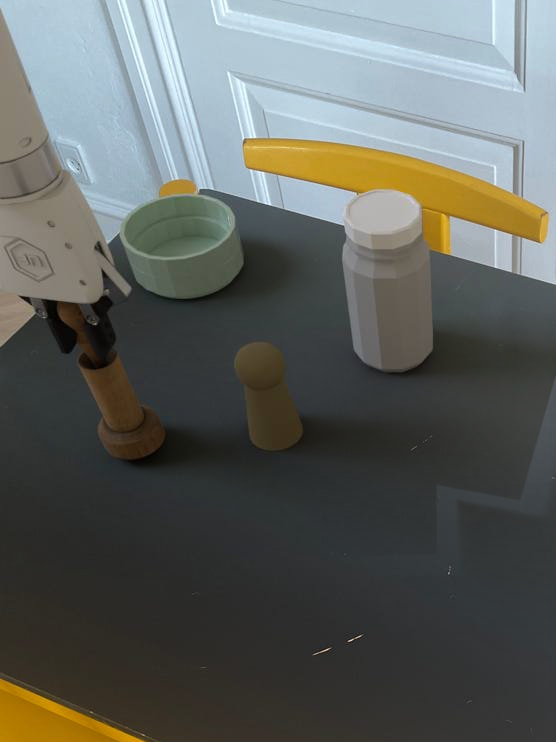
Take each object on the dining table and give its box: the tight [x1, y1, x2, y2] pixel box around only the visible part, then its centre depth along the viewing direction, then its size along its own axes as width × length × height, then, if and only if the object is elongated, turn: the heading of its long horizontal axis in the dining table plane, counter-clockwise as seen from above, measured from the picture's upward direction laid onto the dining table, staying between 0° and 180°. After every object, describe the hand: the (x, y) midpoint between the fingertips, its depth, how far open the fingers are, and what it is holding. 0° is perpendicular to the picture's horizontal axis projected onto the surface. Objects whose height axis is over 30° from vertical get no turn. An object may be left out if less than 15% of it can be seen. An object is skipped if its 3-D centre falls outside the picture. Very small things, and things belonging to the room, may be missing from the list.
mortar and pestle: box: [57, 301, 166, 461], centre depth 90 cm, size 7×6×18 cm
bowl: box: [119, 193, 245, 300], centre depth 114 cm, size 14×14×6 cm
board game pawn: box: [233, 341, 304, 452], centre depth 96 cm, size 6×6×11 cm
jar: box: [341, 189, 434, 373], centre depth 100 cm, size 10×10×18 cm
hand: (89, 345), depth 88 cm, fingers closed on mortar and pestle, 3 cm apart
